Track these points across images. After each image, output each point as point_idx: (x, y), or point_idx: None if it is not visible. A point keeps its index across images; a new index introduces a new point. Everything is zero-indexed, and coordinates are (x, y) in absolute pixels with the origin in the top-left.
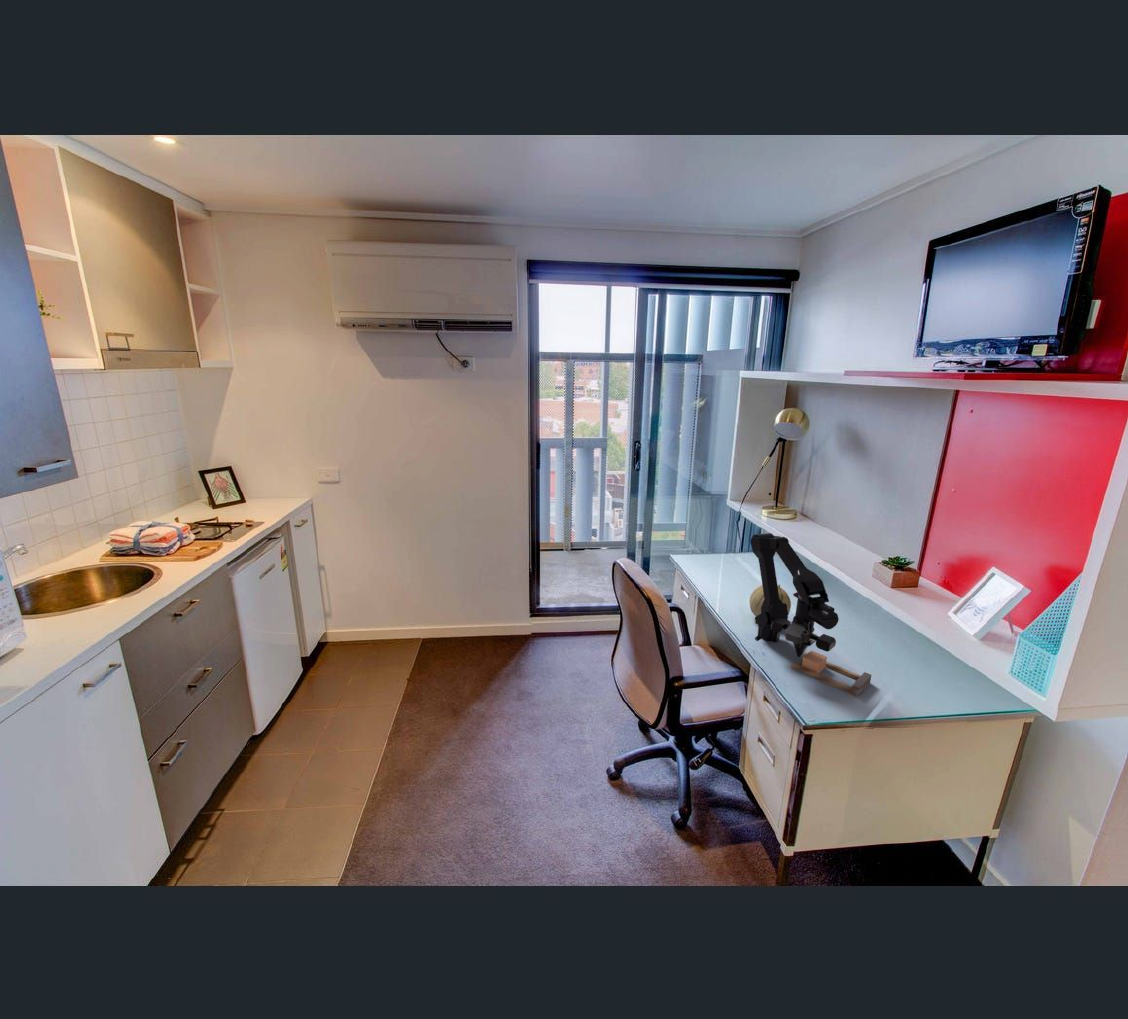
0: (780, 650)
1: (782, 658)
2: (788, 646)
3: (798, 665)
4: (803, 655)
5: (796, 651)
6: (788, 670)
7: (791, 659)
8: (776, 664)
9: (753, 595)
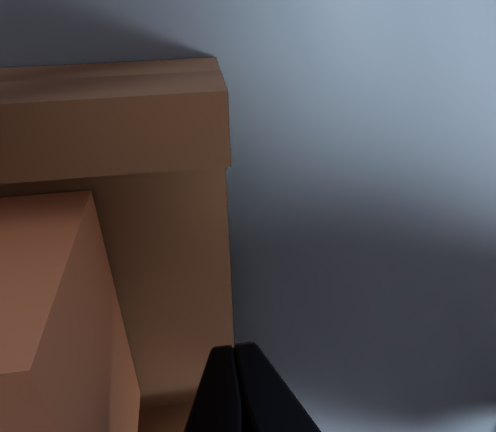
0: (470, 334)
1: (413, 230)
2: (422, 423)
3: (102, 154)
4: None
5: (295, 421)
6: (228, 8)
7: (321, 290)
8: (444, 19)
9: None
